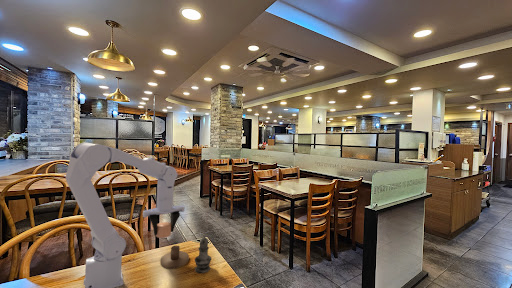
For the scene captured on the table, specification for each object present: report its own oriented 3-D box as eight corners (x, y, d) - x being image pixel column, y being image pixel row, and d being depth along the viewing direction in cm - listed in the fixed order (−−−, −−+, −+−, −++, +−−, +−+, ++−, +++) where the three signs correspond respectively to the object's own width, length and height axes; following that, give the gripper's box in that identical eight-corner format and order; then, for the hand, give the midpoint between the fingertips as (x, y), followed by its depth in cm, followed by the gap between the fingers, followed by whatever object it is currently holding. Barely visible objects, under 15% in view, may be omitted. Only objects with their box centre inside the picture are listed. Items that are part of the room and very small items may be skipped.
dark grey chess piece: (213, 265, 81) (214, 233, 80) (208, 274, 75) (209, 240, 75) (197, 263, 81) (199, 231, 81) (191, 272, 76) (193, 238, 75)
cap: (154, 233, 84) (155, 223, 84) (169, 230, 87) (169, 221, 87) (157, 238, 80) (158, 228, 80) (172, 235, 83) (172, 226, 83)
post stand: (163, 271, 75) (164, 257, 75) (157, 257, 84) (158, 244, 83) (192, 263, 81) (193, 250, 81) (184, 251, 89) (184, 239, 89)
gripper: (145, 202, 76) (144, 241, 76) (187, 197, 84) (185, 232, 84) (142, 197, 81) (141, 233, 82) (182, 193, 90) (180, 226, 90)
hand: (163, 232), depth 83 cm, fingers closed on cap, 5 cm apart
